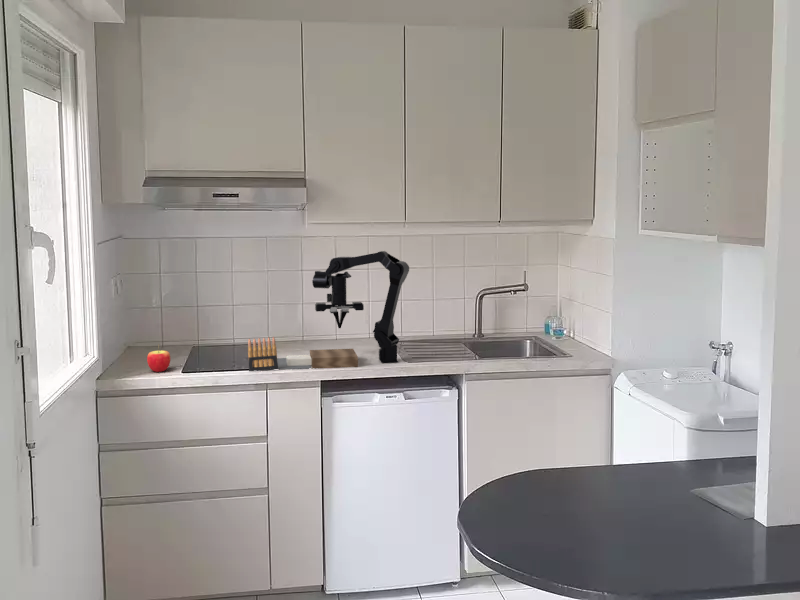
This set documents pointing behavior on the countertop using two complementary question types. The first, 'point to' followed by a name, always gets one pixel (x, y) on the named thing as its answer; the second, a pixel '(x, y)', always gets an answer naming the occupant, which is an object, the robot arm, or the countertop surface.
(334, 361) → the brown flat block
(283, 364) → the mat
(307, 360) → the tile
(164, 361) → the apple
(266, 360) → the ammunition clip
